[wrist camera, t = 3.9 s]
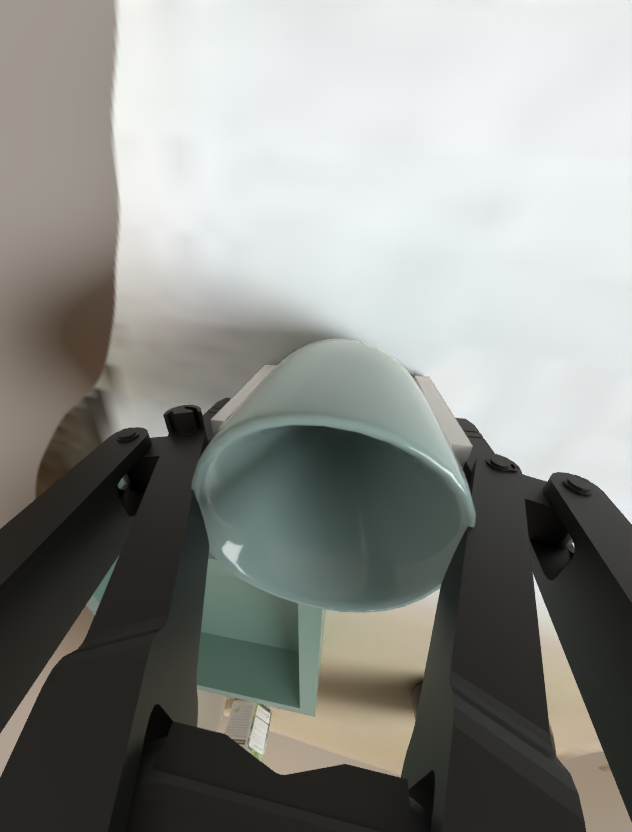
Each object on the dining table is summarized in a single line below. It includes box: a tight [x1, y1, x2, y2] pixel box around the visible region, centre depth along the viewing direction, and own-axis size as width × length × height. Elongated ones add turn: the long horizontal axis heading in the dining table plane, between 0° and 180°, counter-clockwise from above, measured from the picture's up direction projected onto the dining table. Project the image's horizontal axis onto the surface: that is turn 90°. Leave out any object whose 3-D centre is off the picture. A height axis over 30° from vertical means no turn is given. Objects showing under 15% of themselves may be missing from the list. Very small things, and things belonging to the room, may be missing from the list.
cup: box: [191, 339, 476, 612], centre depth 11 cm, size 8×8×10 cm
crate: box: [86, 478, 325, 717], centre depth 25 cm, size 26×20×6 cm
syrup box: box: [224, 700, 272, 762], centre depth 43 cm, size 6×6×14 cm
